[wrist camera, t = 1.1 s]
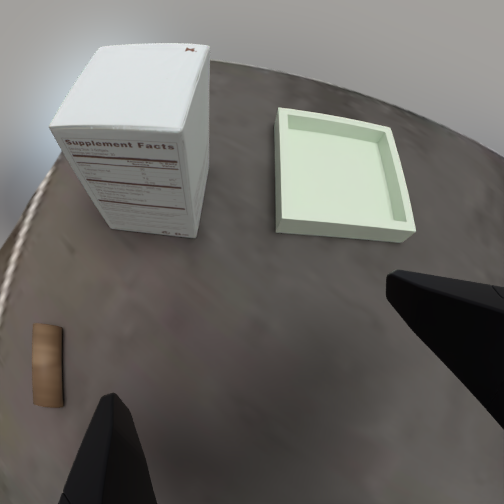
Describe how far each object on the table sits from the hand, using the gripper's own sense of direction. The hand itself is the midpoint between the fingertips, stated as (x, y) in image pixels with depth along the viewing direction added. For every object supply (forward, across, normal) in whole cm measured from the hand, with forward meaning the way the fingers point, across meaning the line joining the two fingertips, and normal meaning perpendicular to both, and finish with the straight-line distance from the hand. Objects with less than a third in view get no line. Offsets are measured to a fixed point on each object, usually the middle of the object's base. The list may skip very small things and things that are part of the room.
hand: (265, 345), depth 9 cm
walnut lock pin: (+13, +13, +7) cm, 20 cm away
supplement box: (+20, +1, 0) cm, 20 cm away
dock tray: (+17, -14, +2) cm, 22 cm away
